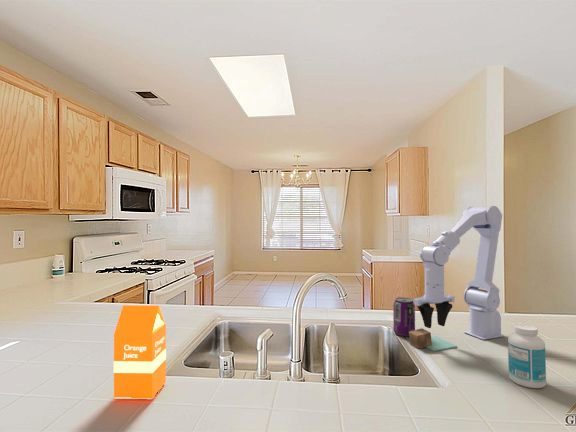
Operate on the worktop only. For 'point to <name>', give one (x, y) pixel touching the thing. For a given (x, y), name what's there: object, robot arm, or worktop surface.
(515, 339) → the pill bottle
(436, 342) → the teal coaster
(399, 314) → the beverage can
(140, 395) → the orange juice
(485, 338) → the robot arm
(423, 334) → the walnut block
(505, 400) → the worktop surface
